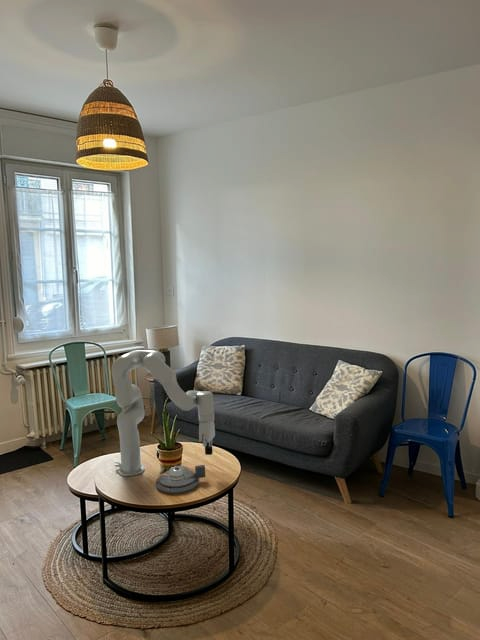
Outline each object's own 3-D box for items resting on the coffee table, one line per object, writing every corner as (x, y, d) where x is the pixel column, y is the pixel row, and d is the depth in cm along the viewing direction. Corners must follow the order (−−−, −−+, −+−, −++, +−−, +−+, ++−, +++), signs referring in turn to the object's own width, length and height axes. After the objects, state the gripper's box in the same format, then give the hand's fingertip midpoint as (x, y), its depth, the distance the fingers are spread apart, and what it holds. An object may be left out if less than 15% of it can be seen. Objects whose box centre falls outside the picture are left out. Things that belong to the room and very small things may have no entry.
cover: (165, 479, 219) (165, 471, 218) (173, 473, 226) (173, 464, 226) (180, 481, 216) (180, 473, 216) (188, 474, 223) (187, 466, 223)
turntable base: (148, 491, 216) (148, 486, 216) (167, 473, 235) (167, 468, 235) (189, 496, 210) (188, 491, 210) (205, 477, 229) (205, 472, 229)
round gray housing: (152, 485, 217) (152, 474, 216) (169, 470, 233) (168, 460, 232) (193, 490, 211) (193, 479, 210) (207, 474, 227) (207, 464, 226)
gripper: (204, 412, 237) (207, 448, 238) (193, 421, 222) (195, 459, 224) (219, 412, 234) (221, 448, 236) (208, 422, 220) (210, 460, 222)
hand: (208, 454), depth 230 cm, fingers closed
